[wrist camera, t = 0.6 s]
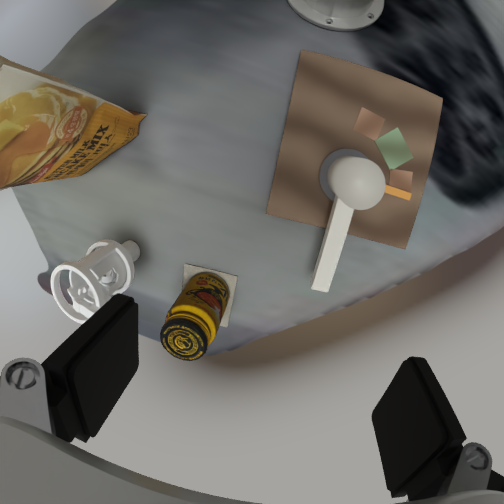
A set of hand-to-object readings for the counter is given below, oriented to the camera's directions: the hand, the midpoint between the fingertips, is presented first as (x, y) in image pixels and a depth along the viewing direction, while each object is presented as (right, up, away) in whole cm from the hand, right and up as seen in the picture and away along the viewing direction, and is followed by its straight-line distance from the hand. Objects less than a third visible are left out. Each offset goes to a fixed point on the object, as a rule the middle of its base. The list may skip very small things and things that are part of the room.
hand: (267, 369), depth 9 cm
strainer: (-18, +4, +31) cm, 35 cm away
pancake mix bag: (-21, +19, +25) cm, 39 cm away
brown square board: (+12, +16, +22) cm, 30 cm away
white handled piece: (+11, +7, +24) cm, 27 cm away
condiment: (-7, -2, +32) cm, 32 cm away
